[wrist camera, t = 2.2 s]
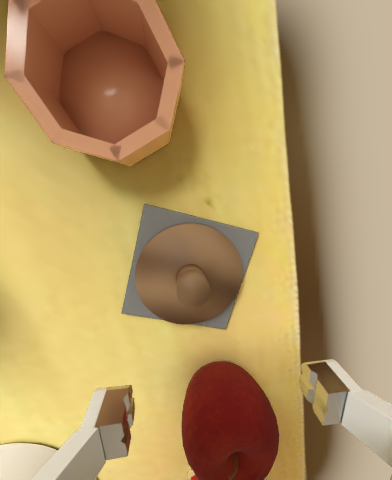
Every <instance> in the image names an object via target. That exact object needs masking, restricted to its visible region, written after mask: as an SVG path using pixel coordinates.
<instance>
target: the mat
mask: <svg viewBox="0 0 392 480" xmlns="http://www.w3.org/2000/svg"><path fill="white" fill-rule="evenodd" d="M181 223H199V224H204V225H207V226H210V227H212V228H215V229H217V230H218V231H220V232H221V233H222V234H224V235H225V236H226V237H227V238H228V239H229V240H230V241H231V242H232V243H233V245H234V246H235V248H236V249H237V251H238V253H239V255H240V258H241V262H242V270H243V275H242V280H243V277H244V275H245V272H246V269H247V266H248V263H249V260H250V257H251V254H252V251H253V248H254V246H255V243H256V240H257V237H258V234H259V233H258V232H255V231H251V230H247V229H243V228H239V227H235V226H231V225H227V224H223V223H219V222H215V221H211V220H207V219H203V218H199V217H195V216H191V215H187V214H183V213H179V212H175V211H171V210H167V209H163V208H159V207H156V206H152V205H148V204H144V209H143V214H142V218H141V223H140V228H139V233H138V237H137V242H136V247H135V252H134V256H133V261H132V266H131V271H130V275H129V280H128V285H127V290H126V294H125V299H124V304H123V309H122V314H128V315H135V316H142V317H148V318H155V319H161V318H159V317H158V316H156V315H154V314H153V313H152V312H151V311H150V310H148V308H147V307H146V306H145V305H144V304H143V302H142V301H141V299H140V297H139V295H138V292H137V289H136V285H135V269H136V265H137V261H138V258H139V256H140V254H141V252H142V250H143V248H144V247H145V245H146V244H147V243H148V241H149V240H150V239H151V238H152V237H153V236H155V235H156V234H157V233H159V232H160V231H162V230H164V229H165V228H167V227H170V226H173V225H176V224H181ZM241 283H242V282H241ZM240 286H241V285H240ZM239 289H240V288H239ZM238 292H239V291H238ZM237 295H238V293H237ZM237 295H236V297H235V299H234V300H233V301H232V303H231V304H230V305H229V306H228V307H227V308H226V309H225V310H224V311H223V312H221V313H220V314H218V315H217V316H215V317H213V318H211V319H209V320H207V321H204V322H200V323H195V324H194V325H201V326H207V327H214V328H220V329H226V327H227V324H228V321H229V318H230V315H231V312H232V309H233V306H234V303H235V301H236V298H237ZM161 320H163V319H161Z"/></svg>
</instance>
